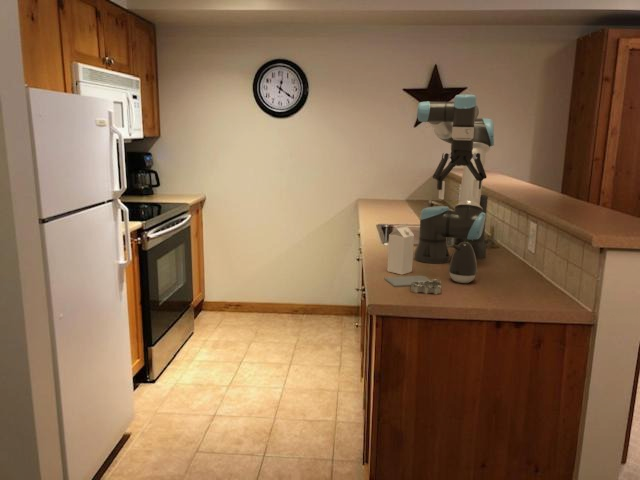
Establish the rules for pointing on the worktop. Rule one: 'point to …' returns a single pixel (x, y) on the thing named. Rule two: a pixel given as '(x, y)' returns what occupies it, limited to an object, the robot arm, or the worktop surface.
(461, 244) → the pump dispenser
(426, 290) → the egg carton
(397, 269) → the milk carton
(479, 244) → the flashlight
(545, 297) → the worktop surface
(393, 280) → the mat
